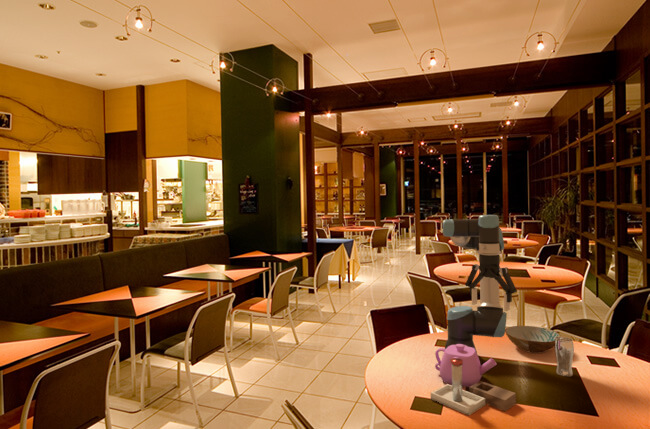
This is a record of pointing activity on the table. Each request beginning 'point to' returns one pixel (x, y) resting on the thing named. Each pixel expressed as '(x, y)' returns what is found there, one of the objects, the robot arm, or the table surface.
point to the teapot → (469, 367)
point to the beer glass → (564, 355)
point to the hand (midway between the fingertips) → (490, 307)
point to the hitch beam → (494, 395)
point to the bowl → (532, 338)
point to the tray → (466, 406)
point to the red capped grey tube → (457, 379)
